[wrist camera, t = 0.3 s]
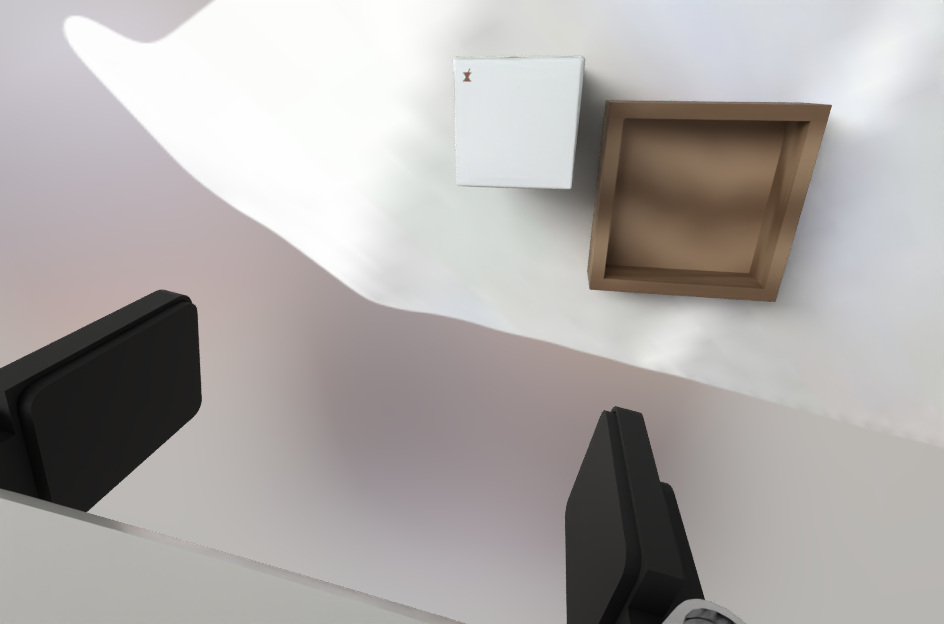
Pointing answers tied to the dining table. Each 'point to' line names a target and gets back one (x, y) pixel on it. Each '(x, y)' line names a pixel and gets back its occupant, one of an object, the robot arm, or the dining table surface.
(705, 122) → the wooden shadow box
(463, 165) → the supplement box
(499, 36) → the dining table surface
